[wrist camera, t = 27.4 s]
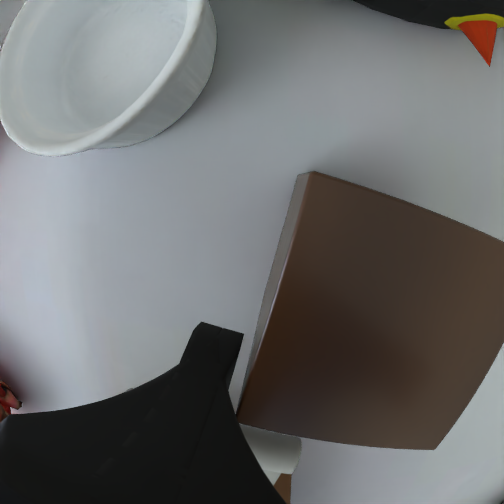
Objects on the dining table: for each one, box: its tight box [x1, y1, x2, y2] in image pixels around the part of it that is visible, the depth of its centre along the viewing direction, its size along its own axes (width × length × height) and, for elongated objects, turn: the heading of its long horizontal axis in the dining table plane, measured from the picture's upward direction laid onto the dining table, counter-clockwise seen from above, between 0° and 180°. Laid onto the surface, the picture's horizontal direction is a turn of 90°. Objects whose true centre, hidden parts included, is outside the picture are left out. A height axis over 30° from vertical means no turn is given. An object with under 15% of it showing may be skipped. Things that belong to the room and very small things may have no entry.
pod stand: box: [236, 171, 504, 450], centre depth 9 cm, size 5×5×8 cm
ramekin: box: [0, 0, 217, 157], centre depth 9 cm, size 9×9×4 cm
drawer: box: [126, 388, 302, 504], centre depth 12 cm, size 15×8×5 cm, turn 166°
